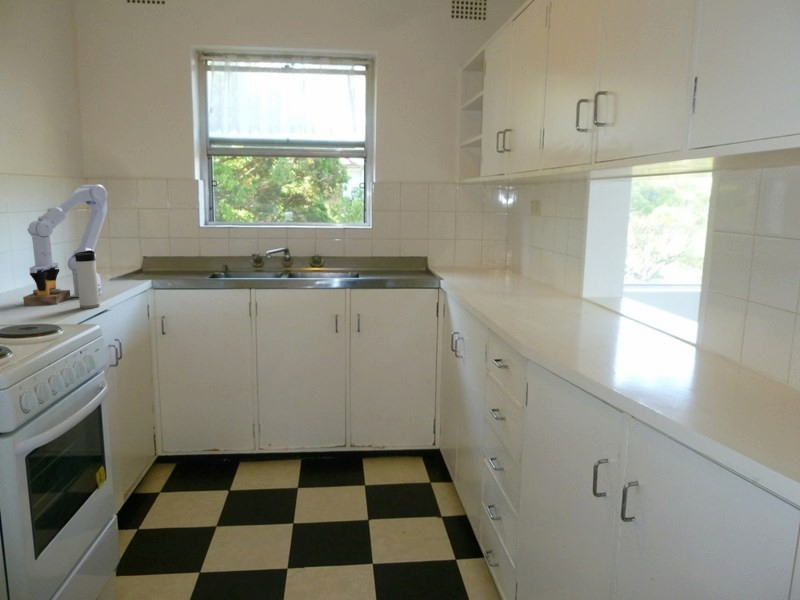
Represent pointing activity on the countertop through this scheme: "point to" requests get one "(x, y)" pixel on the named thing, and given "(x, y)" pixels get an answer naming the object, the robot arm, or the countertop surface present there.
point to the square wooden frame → (47, 297)
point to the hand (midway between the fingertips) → (46, 289)
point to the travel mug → (87, 279)
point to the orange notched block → (49, 285)
